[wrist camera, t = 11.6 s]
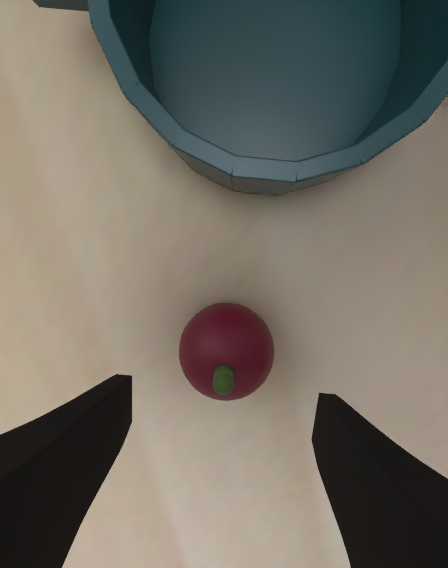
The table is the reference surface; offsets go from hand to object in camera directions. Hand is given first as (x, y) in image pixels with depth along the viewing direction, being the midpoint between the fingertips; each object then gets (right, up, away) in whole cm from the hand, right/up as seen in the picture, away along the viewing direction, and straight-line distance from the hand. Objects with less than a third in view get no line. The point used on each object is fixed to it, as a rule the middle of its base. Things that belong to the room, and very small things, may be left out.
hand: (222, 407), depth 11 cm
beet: (0, +1, +8) cm, 8 cm away
